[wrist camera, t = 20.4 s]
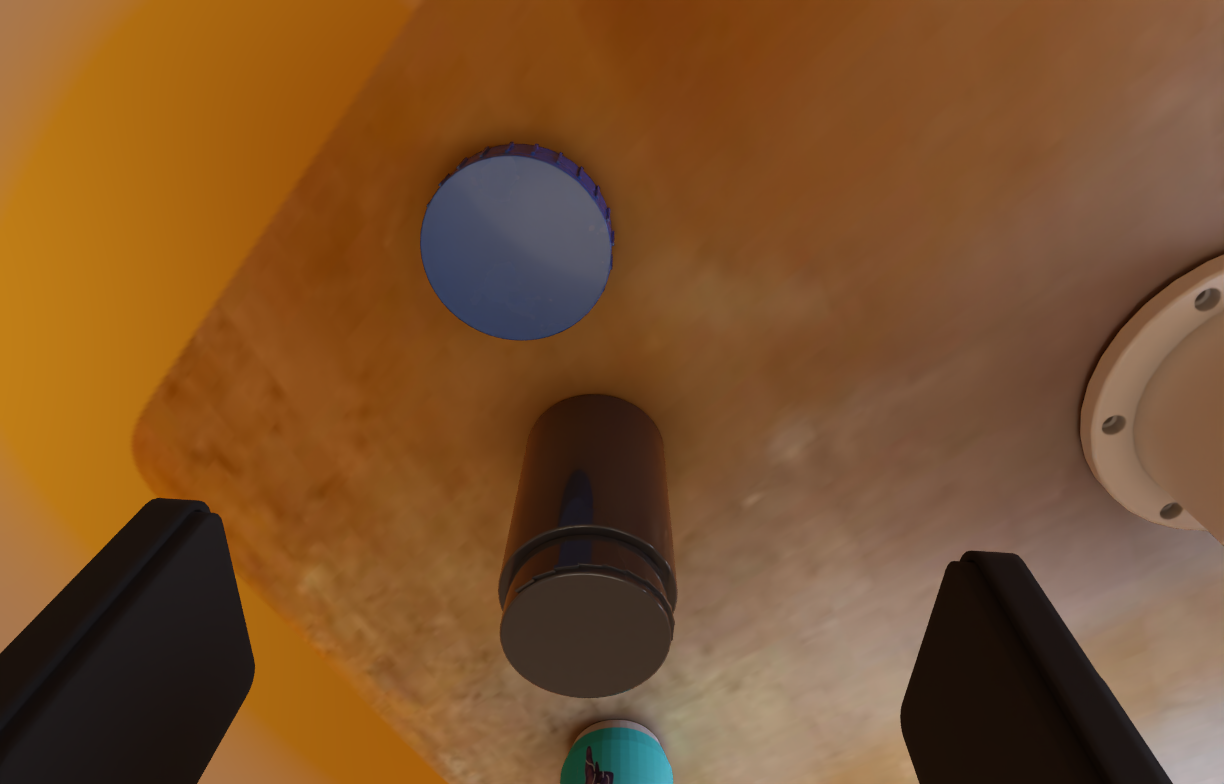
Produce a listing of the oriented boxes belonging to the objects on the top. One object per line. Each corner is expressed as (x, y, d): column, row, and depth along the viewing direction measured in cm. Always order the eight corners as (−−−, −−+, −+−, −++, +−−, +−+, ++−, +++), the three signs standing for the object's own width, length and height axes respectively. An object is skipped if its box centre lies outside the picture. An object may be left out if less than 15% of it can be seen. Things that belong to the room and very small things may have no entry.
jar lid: (393, 225, 28) (377, 242, 26) (525, 99, 26) (518, 108, 24) (519, 352, 30) (513, 375, 28) (651, 245, 28) (652, 264, 26)
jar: (692, 460, 32) (720, 646, 23) (590, 531, 34) (579, 730, 25) (600, 367, 30) (592, 531, 21) (497, 448, 32) (449, 632, 23)
